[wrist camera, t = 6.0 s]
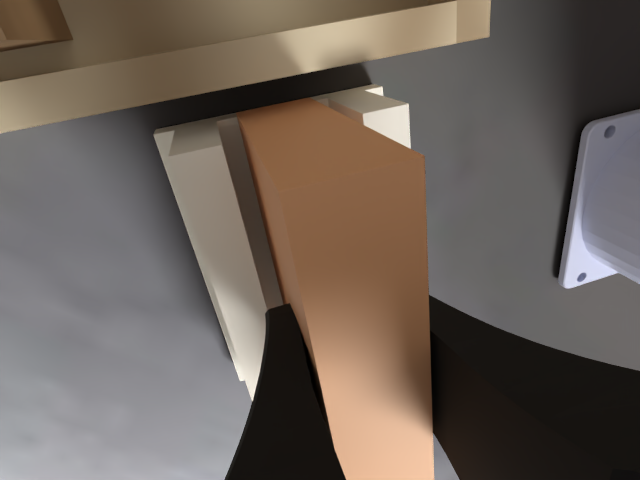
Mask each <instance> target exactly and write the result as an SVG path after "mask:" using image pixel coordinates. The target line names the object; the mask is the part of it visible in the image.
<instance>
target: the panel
mask: <svg viewBox="0 0 640 480" xmlns="http://www.w3.org/2000/svg"><path fill="white" fill-rule="evenodd" d="M236 115H237V119H238V123H239V127H240V131H241V135H242V139H243V143H244V147H245V151H246V155H247V160H248V164H249V168H250V172H251V176H252V180H253V184H254V188H255V192H256V196H257V200H258V204H259V208H260V212H261V216H262V220H263V224H264V228H265V232H266V236H267V240H268V244H269V248H270V252H271V256H272V261H273V265H274V269H275V273H276V277H277V281H278V285H279V289H280V293H281V297H282V301H283V305H285V304H288V303H290V305H291V307H292V309H293V311H294V314H295V316H296V319H297V321H298V324H299V328H300V332H301V336H302V341H303V345H304V349H305V354H306V358H307V362H308V367H309V371H310V375H311V380H312V384H313V388H314V393H315V396H316V399H317V402H318V405H319V407H320V410H321V413H322V416H323V419H324V421H325V424H326V427H327V430H328V432H329V435H330V438H331V440H332V443H333V446H334V449H335V451H336V454H337V457H338V459H339V462H340V465H341V467H342V470H343V473H344V475H345V478H346V480H434V456H433V422H432V389H431V355H430V321H429V288H428V254H427V221H426V187H425V156H424V155H422V154H420V153H418V152H416V151H414V150H412V149H410V148H408V147H406V146H404V145H402V144H400V143H398V142H396V141H394V140H392V139H390V138H388V137H386V136H384V135H382V134H380V133H378V132H376V131H374V130H373V129H371V128H369V127H367V126H365V125H363V124H361V123H359V122H357V121H355V120H353V119H351V118H349V117H347V116H345V115H343V114H341V113H339V112H337V111H335V110H333V109H331V108H329V107H327V106H325V105H323V104H321V103H319V102H317V101H315V100H314V99H312V98H310V97H308V98H303V99H299V100H294V101H289V102H284V103H279V104H275V105H270V106H265V107H260V108H255V109H251V110H246V111H241V112H236Z"/></svg>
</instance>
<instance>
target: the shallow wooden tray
mask: <svg viewBox="0 0 640 480" xmlns="http://www.w3.org/2000/svg"><path fill="white" fill-rule="evenodd" d="M58 2H59V5H60V7H61V10H62V12H63V15H64V17H65V20H66V22H67V25H68V27H69V30H70V32H71V35H72V37H73V40H69V41H63V42H57V43H51V44H45V45H39V46H33V47H27V48H21V49H15V50H9V51H3V52H0V133H5V132H10V131H15V130H20V129H25V128H30V127H35V126H40V125H45V124H50V123H55V122H60V121H65V120H70V119H76V118H81V117H86V116H91V115H96V114H101V113H106V112H111V111H116V110H121V109H126V108H131V107H136V106H141V105H146V104H152V103H157V102H162V101H167V100H172V99H177V98H182V97H187V96H192V95H197V94H202V93H207V92H212V91H217V90H222V89H228V88H233V87H238V86H243V85H248V84H253V83H258V82H263V81H268V80H273V79H278V78H283V77H288V76H293V75H298V74H304V73H309V72H314V71H319V70H324V69H329V68H334V67H339V66H344V65H349V64H354V63H359V62H364V61H369V60H374V59H380V58H385V57H390V56H395V55H400V54H405V53H410V52H415V51H420V50H425V49H430V48H435V47H440V46H445V45H450V44H456V43H461V42H466V41H471V40H476V39H481V38H486V37H489V30H490V8H491V0H58Z"/></svg>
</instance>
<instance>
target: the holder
mask: <svg viewBox="0 0 640 480" xmlns="http://www.w3.org/2000/svg"><path fill="white" fill-rule="evenodd" d="M310 98H312V99H314V100H315V101H317V102H319V103H321V104H323V105H325V106H327V107H329V108H331V109H333V110H335V111H337V112H339V113H341V114H343V115H345V116H347V117H349V118H351V119H353V120H355V121H357V122H359V123H361V124H363V125H365V126H367V127H369V128H371V129H373V130H374V131H376V132H378V133H380V134H382V135H384V136H386V137H388V138H390V139H392V140H394V141H396V142H398V143H400V144H402V145H404V146H406V147H408V148H410V149H411V146H410V124H409V104H408V103H404V102H401V101H398V100H394V99H391V98H388V97H384V96H383V87H382V86H378V85H374V84H371V85H367V86H362V87H357V88H352V89H347V90H343V91H338V92H333V93H328V94H323V95H319V96H314V97H310ZM153 135H154V138H155V141H156V144H157V147H158V150H159V152H160V155H161V158H162V161H163V164H164V167H165V169H166V172H167V175H168V178H169V181H170V184H171V187H172V189H173V192H174V195H175V198H176V201H177V204H178V206H179V209H180V212H181V215H182V218H183V221H184V223H185V226H186V229H187V232H188V235H189V238H190V240H191V243H192V246H193V249H194V252H195V255H196V257H197V260H198V263H199V266H200V269H201V272H202V274H203V277H204V280H205V283H206V286H207V289H208V291H209V294H210V297H211V300H212V303H213V306H214V309H215V311H216V314H217V317H218V320H219V323H220V326H221V328H222V331H223V334H224V337H225V340H226V343H227V345H228V348H229V351H230V354H231V357H232V360H233V362H234V365H235V368H236V371H237V374H238V377H239V379H240V381H243V380H245V381H246V384H247V387H248V390H249V393H250V396H251V399H252V402H253V398H254V394H255V390H256V386H257V381H258V377H259V373H260V368H261V362H262V356H263V350H264V343H265V332H266V318H265V313H266V312H267V310H268V309H271V308H274V307H278V306H281V305H283V301H282V297H281V293H280V289H279V285H278V281H277V277H276V273H275V269H274V265H273V261H272V256H271V252H270V248H269V244H268V240H267V236H266V232H265V228H264V224H263V220H262V216H261V212H260V208H259V204H258V200H257V196H256V192H255V188H254V184H253V180H252V176H251V172H250V168H249V164H248V160H247V155H246V151H245V147H244V143H243V139H242V135H241V131H240V127H239V123H238V119H237V115H236V113H232V114H227V115H222V116H218V117H213V118H208V119H203V120H198V121H194V122H189V123H184V124H179V125H174V126H169V127H165V128H160V129H156V130H155V132H154V134H153Z"/></svg>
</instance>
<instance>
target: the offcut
mask: <svg viewBox="0 0 640 480" xmlns="http://www.w3.org/2000/svg"><path fill="white" fill-rule="evenodd" d="M69 40H73V37H72V35H71V32H70V30H69V27H68V25H67V22H66V20H65V17H64V15H63V12H62V10H61V7H60V5H59V2H58V0H0V52H3V51H9V50H15V49H21V48H27V47H33V46H39V45H45V44H51V43H57V42H63V41H69Z"/></svg>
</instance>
